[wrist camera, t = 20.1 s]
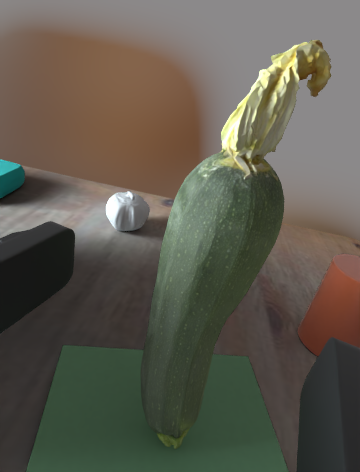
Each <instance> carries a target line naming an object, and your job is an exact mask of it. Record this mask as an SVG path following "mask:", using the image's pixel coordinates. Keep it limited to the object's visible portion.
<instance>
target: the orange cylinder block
mask: <svg viewBox="0 0 360 472" xmlns="http://www.w3.org/2000/svg"><path fill="white" fill-rule="evenodd" d="M298 335H299V338H300V340H301V341H302V343H303V344H304V345H305V346H306V348H308V349H309V350H310V351H311V352H312V353H313V354H315V355H316V356H319V355H320V353H321V351H322V349H323V348H324V346H325V344H326V343H327V341H328V340H329V339H330V338H331V337H334V338H336V339H339V340H341V341H344V342H346V343H349V344H351V345H353V346H356V347H358V348H360V257H358V256H355V255H350V254H338V255H335V256H334V257H333V259H332V261H331V263H330V265H329V267H328V269H327V271H326V273H325V275H324V277H323V279H322V281H321V283H320V285H319V287H318V288H317V290H316V292H315V294H314V296H313V298H312V300H311V302H310V304H309V306H308V308H307V310H306V312H305V314H304V316H303V318H302V320H301V322H300V324H299V326H298Z"/></svg>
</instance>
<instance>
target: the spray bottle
mask: <svg viewBox="0 0 360 472" xmlns="http://www.w3.org/2000/svg"><path fill="white" fill-rule="evenodd" d="M24 181H25V171H24V169H23V168H22V166H21V165H18V164H16V163H13V162H9V161H5V160H0V198H2V197H4V196H5V195H7V194H9V193H11V192H12V191H14V190H16V189H18V188H19V187H21V186H22V184H23V182H24Z"/></svg>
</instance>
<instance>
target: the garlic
mask: <svg viewBox="0 0 360 472" xmlns="http://www.w3.org/2000/svg"><path fill="white" fill-rule="evenodd" d="M149 212H150V209H149V206H148V204H147V203H146V202H145V201H144V199H143V198H142V197H140V196H139V195H137V194H135V193H132V192H131V191H128V192H120V193H116V194H114V195H113V196H112V197H110V198H109V200H108V202H107V205H106V215H107V217H108V219H109V220H110V222H111V224H112V225H113V227H114V228H115V229H116V230H119V231H132V230H136V229H139V228H141V227H142V226H143V224H144V222H145V221H146V219H147V218H148V216H149Z"/></svg>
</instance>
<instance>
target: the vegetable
mask: <svg viewBox="0 0 360 472" xmlns="http://www.w3.org/2000/svg"><path fill="white" fill-rule="evenodd" d="M271 59H272V62H273V65H272V66H270V67H269V68H268V69H266V70H265V69H263V70H261V71H260V72H259V78H258V79H257V81H256V83H255V84H254V85H253V86H252V87H251V91H250V93H249V94H248V95H247V96H246V97H245V98H244V99H243V100H242V101H241V102H240V104H239V105H238V108H237V110H235V111H234V112H233V114H232V115H231V116H230V117H229V119H228V121H227V122H226V124H225V126H224V128H223V130H222V132H221V139H222V145H223V148H222V151H221V152H220V153H218V154H215V155H212V156H210V157H208V158H207V159H205V160H204V161H203V162H201V163H200V164H199V165H198V166H197V167H196V168H195V169H194V170H193V171H192V172H191V173H190V174H189V175H188V176H187V178H186V179H185V181H184V182H183V184H182V186H181V188H180V189H179V191H178V194H177V196H176V198H175V201H174V204H173V207H172V210H171V213H170V216H169V219H168V223H167V227H166V231H165V235H164V238H163V242H162V247H161V252H160V259H159V265H158V273H157V279H156V284H155V288H154V291H153V296H152V304H151V311H150V318H149V324H148V331H147V336H146V341H145V346H144V352H143V356H142V363H141V373H140V374H141V398H142V406H143V410H144V414H145V418H146V421H147V423H148V425H149V427H150V428H151V430H153V431H154V432H155V433H157V435H158V437H159V439H160V440H161V441H162V442H163V443H164V444H165V446H167V447H170V446H171V445H174V449H177V448H179V447H180V446H181V444H182V440H183V438H184V437H185V436H186V435H187V433H188V431H189V429H190V428H191V427H192V426H193V425H194V423H195V422H196V420H197V418H198V415H199V412H200V409H201V404H202V400H203V395H204V389H205V386H206V383H207V379H208V374H209V369H210V365H211V360H212V355H213V350H214V346H215V344H216V341H217V339H218V336H219V334H220V331H221V329H222V327H223V325H224V324H225V322H226V320H227V319H228V317H229V316H230V315H231V313H232V312H233V311H234V309H235V308H236V307H237V306H238V304H239V303H240V301H241V300H242V299H243V297H244V296H245V294H246V293H247V291H248V290H249V288H250V286H251V284H252V282H253V281H254V279H255V278H256V276H257V274H258V273H259V271H260V269H261V267H262V265H263V264H264V262H265V260H266V258H267V257H268V255H269V253H270V251H271V250H272V248H273V246H274V244H275V242H276V239H277V237H278V234H279V231H280V228H281V223H282V219H283V212H284V196H283V190H282V186H281V182H280V180H279V178H278V176H277V174H276V172H275V171H274V170H273V168H272V167H271V166H270V165H269V164H268V163H267V162H266V160H264V159H263V158H264V156H265V155H266V154H267V153H268V152H271V151H272V152H275V149H276V145H277V144H278V143H279V141H280V140H281V139H282V136H283V134H284V131H285V129H286V126H287V124H288V122H289V120H290V117H291V115H292V113H293V110H294V107H295V103H296V92H297V90H298V89H299V86H298V82H299V80H303V79H306V78H307V77H308V75H309V74H312V78H311V80H308V83H307V87H308V88H309V89H310V91H311V96H314V97H316V96H317V95H318V92H320V91H321V90H322V89H323V88H324V87H325V85H326V84H327V81H328V79H329V78H330V77H331V74H330V69H331V65H330V63H329V61H330V58H329V56H328V54H327V52H326V51H325V50H324V49H323V46H322V43H321V42H320V41H319V40H314V41H312V40H311V41H310V42H309V43H307V42H304V43H301V44H299V45H294V46H293V47H292V48H291V49H290V50H288V51H286V52H284V53H280V54H277V55H274V56H271Z"/></svg>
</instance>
